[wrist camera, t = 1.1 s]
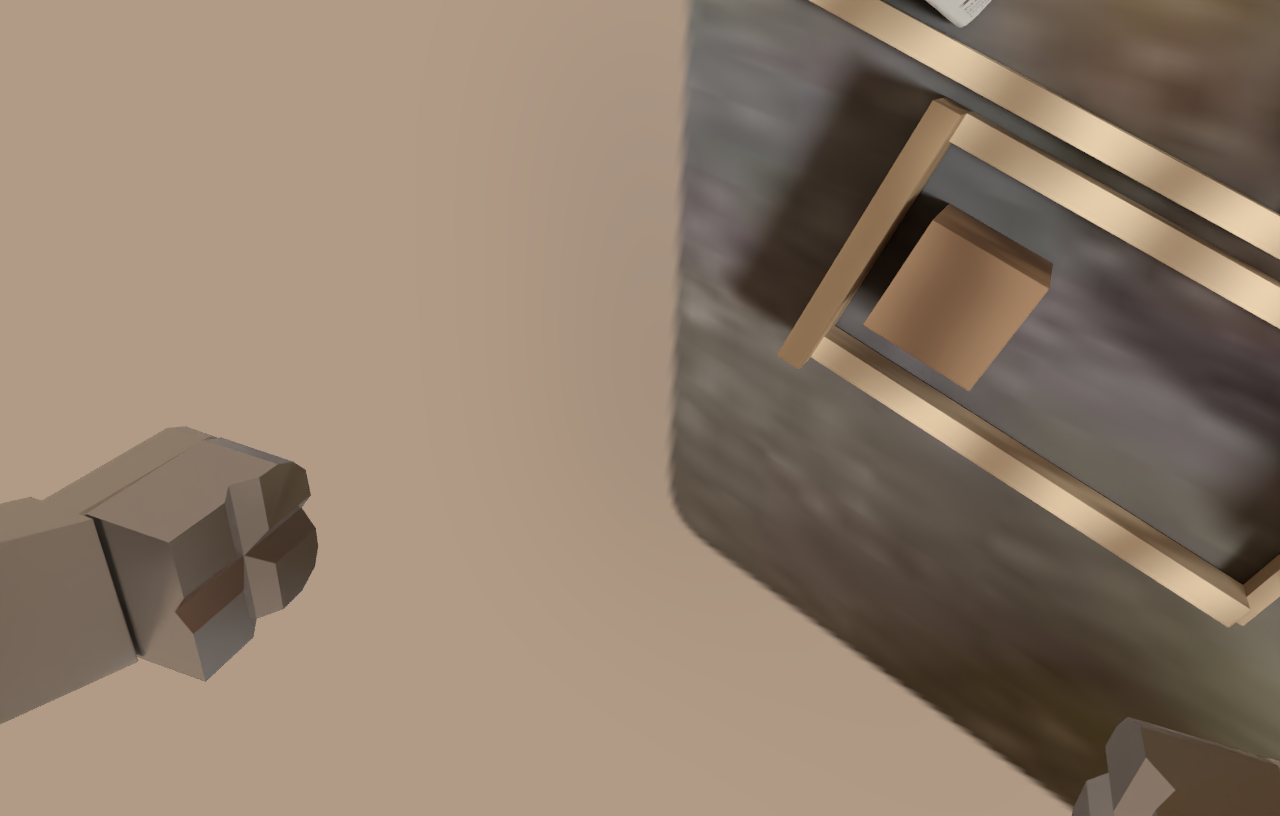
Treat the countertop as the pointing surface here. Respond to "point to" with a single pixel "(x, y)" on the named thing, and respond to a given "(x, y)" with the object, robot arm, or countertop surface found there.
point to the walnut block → (960, 296)
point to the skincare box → (959, 9)
